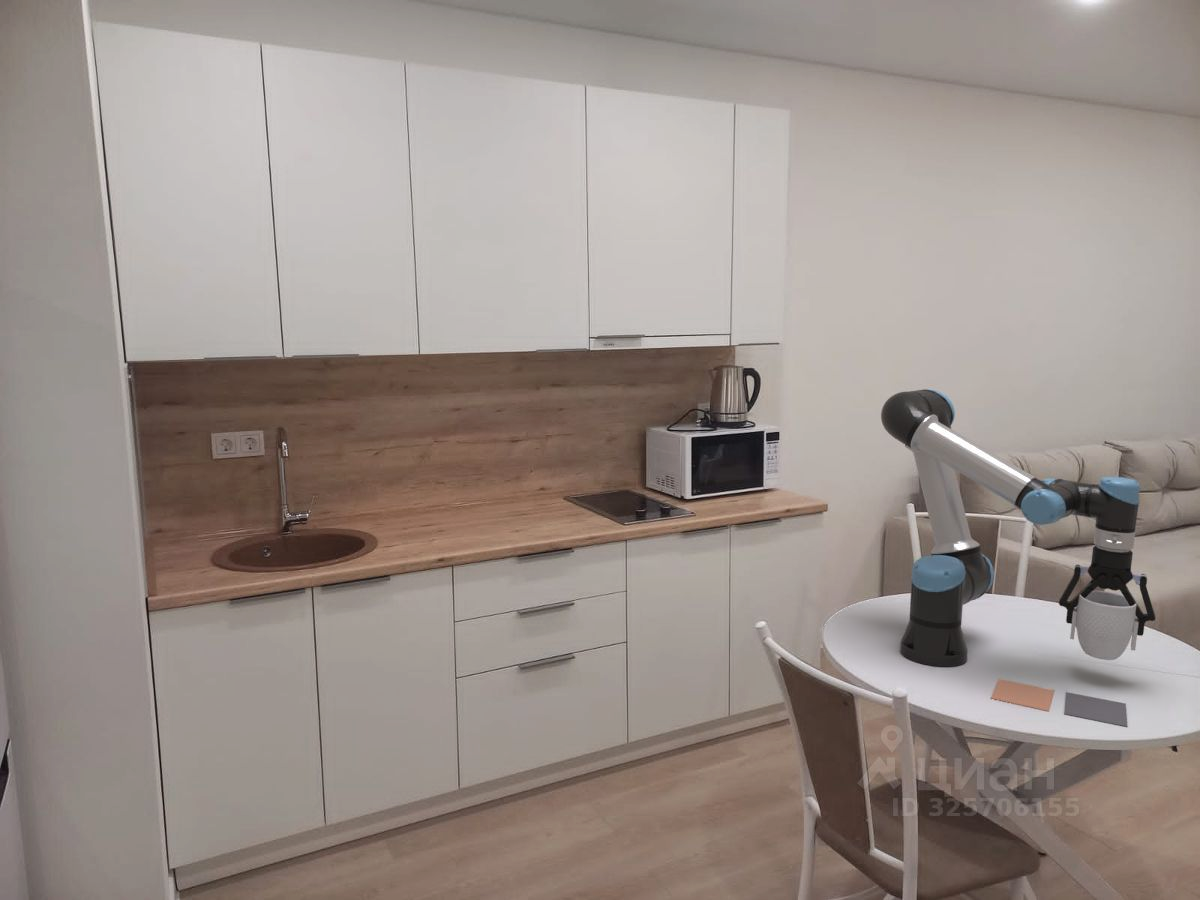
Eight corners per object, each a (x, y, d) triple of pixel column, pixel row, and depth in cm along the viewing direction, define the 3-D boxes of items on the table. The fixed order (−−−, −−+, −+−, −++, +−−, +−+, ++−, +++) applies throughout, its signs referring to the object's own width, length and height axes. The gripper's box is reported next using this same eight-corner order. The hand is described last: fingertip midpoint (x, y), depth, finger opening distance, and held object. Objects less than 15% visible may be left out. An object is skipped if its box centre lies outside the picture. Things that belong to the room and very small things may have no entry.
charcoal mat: (1063, 717, 171) (1064, 713, 171) (1065, 695, 182) (1066, 692, 181) (1127, 730, 166) (1127, 726, 166) (1125, 707, 176) (1125, 703, 176)
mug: (1051, 638, 196) (1057, 584, 194) (1095, 638, 197) (1102, 584, 195) (1093, 664, 181) (1100, 607, 179) (1141, 664, 182) (1149, 606, 180)
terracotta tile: (990, 701, 179) (990, 697, 178) (998, 682, 188) (998, 678, 188) (1048, 714, 173) (1048, 710, 172) (1053, 693, 183) (1054, 690, 182)
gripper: (1051, 543, 187) (1042, 637, 190) (1178, 560, 175) (1165, 659, 178) (1053, 536, 193) (1044, 627, 197) (1176, 552, 181) (1163, 648, 185)
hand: (1102, 642), depth 188 cm, fingers closed on mug, 11 cm apart
